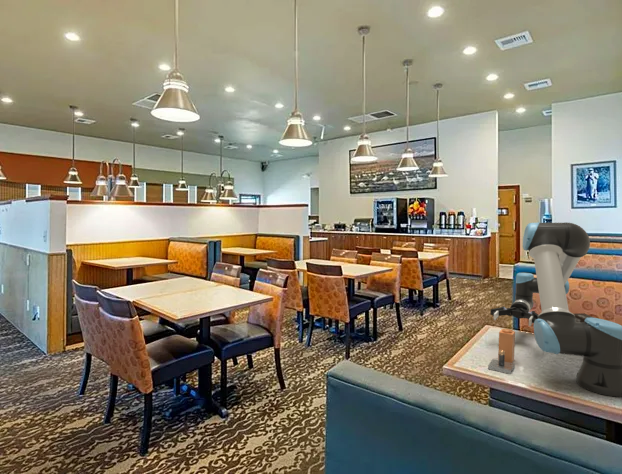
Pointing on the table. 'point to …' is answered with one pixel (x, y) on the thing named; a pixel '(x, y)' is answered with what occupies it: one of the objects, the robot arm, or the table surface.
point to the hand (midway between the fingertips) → (511, 319)
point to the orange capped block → (507, 344)
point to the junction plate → (502, 368)
